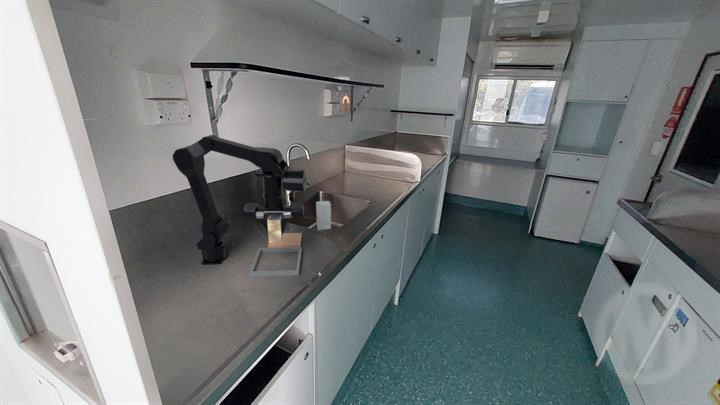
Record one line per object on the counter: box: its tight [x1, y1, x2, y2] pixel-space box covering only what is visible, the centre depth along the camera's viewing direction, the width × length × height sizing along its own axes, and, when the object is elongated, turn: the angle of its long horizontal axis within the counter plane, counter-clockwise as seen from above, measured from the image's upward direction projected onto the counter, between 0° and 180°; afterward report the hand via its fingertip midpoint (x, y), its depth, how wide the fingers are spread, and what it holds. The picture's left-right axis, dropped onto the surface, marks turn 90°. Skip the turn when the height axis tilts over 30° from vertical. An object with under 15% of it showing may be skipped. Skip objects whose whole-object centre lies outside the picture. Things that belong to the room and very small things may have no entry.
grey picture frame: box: [248, 246, 303, 278], centre depth 101 cm, size 16×16×2 cm
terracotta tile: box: [267, 232, 303, 248], centre depth 115 cm, size 12×10×1 cm
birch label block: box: [267, 213, 283, 244], centre depth 96 cm, size 4×5×8 cm
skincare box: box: [315, 200, 332, 231], centre depth 126 cm, size 6×4×12 cm
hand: (276, 233), depth 97 cm, fingers closed on birch label block, 4 cm apart
